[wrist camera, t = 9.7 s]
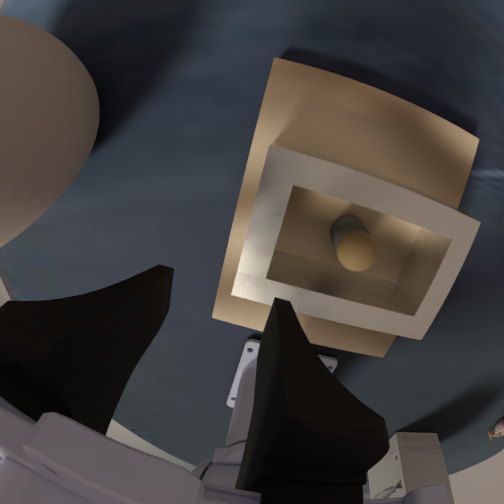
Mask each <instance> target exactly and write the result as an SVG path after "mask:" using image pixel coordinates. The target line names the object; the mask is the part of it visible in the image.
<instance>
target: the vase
mask: <svg viewBox="0 0 504 504" xmlns="http://www.w3.org/2000/svg"><path fill="white" fill-rule="evenodd" d="M99 115H100V110H99V100H98V94H97V90H96V87H95V84H94V82H93V79H92V78H91V76H90V74H89V73H88V71H87V69H86V68H85V66H84V65H83V63H82V62H81V61H80V60H79V59H78V57H77V56H76V55H75V54H74V53H73V52H72V51H71V50H70V49H69V48H68V47H67V46H66V45H65V44H64V43H63V42H61V41H60V40H59V39H57V38H56V37H55V36H53V35H52V34H50V33H48V32H47V31H45V30H44V29H42V28H40V27H38V26H36V25H33V24H31V23H29V22H26V21H23V20H20V19H16V18H13V17H9V16H3V15H0V247H1V246H3V245H4V244H6V243H7V242H9V241H10V240H11V239H13V238H14V237H16V236H17V235H19V234H20V233H21V232H23V231H24V230H25V229H26V228H27V227H29V226H30V225H31V224H32V223H33V222H34V221H36V220H37V219H38V218H39V217H40V216H41V215H42V214H43V213H44V212H45V211H46V210H47V209H48V208H49V207H50V206H51V205H52V204H53V203H54V202H55V201H56V200H57V199H58V197H59V196H60V195H61V194H62V193H63V192H64V191H65V189H66V188H67V187H68V186H69V184H70V183H71V182H72V181H73V179H74V178H75V177H76V175H77V174H78V172H79V171H80V169H81V168H82V166H83V165H84V163H85V162H86V160H87V158H88V156H89V154H90V152H91V150H92V147H93V145H94V142H95V139H96V135H97V131H98V126H99Z"/></svg>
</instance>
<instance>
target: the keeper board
mask: <svg viewBox="0 0 504 504" xmlns="http://www.w3.org/2000/svg"><path fill="white" fill-rule="evenodd" d="M274 141H275V142H279V143H283V144H286V145H290V146H294V147H297V148H301V149H304V150H308V151H311V152H314V153H318V154H321V155H324V156H327V157H331V158H334V159H337V160H340V161H343V162H346V163H349V164H352V165H355V166H358V167H361V168H363V169H366V170H369V171H372V172H375V173H377V174H380V175H383V176H385V177H388V178H391V179H393V180H396V181H398V182H401V183H404V184H406V185H409V186H411V187H413V188H416V189H418V190H421V191H423V192H425V193H428V194H430V195H432V196H435V197H437V198H439V199H441V200H444V201H446V202H448V203H450V204H452V205H453V206H455V207H457V208H458V206H459V204H460V201H461V198H462V195H463V192H464V189H465V186H466V183H467V180H468V177H469V174H470V171H471V167H472V164H473V160H474V157H475V153H476V150H477V146H478V142H479V139H478V138H476V137H475V136H473V135H471V134H470V133H468V132H466V131H465V130H463V129H461V128H459V127H458V126H456V125H454V124H452V123H450V122H449V121H447V120H445V119H443V118H441V117H439V116H437V115H435V114H433V113H431V112H429V111H427V110H425V109H423V108H421V107H419V106H417V105H415V104H412V103H410V102H408V101H406V100H404V99H401V98H399V97H397V96H394V95H392V94H390V93H387V92H385V91H382V90H380V89H377V88H375V87H372V86H369V85H367V84H364V83H361V82H358V81H356V80H353V79H350V78H347V77H344V76H341V75H338V74H335V73H331V72H328V71H325V70H322V69H318V68H315V67H311V66H307V65H304V64H300V63H296V62H292V61H288V60H284V59H279V58H275V57H274V61H273V64H272V68H271V72H270V76H269V79H268V83H267V87H266V91H265V95H264V98H263V102H262V106H261V110H260V114H259V118H258V122H257V126H256V130H255V133H254V137H253V141H252V145H251V150H250V154H249V158H248V162H247V166H246V170H245V174H244V178H243V182H242V186H241V191H240V195H239V199H238V203H237V208H236V212H235V216H234V220H233V225H232V229H231V233H230V238H229V242H228V247H227V251H226V256H225V260H224V264H223V269H222V274H221V278H220V283H219V287H218V292H217V296H216V301H215V306H214V311H213V315H212V318H215V319H219V320H222V321H226V322H229V323H233V324H237V325H240V326H244V327H248V328H251V329H255V330H259V331H263V330H264V327H265V324H266V322H267V319H268V316H269V313H270V310H271V307H272V306H271V305H267V304H263V303H260V302H256V301H252V300H249V299H245V298H241V297H238V296H234V295H231V294H232V290H233V286H234V282H235V278H236V274H237V270H238V266H239V262H240V258H241V254H242V250H243V246H244V242H245V238H246V234H247V230H248V226H249V222H250V218H251V214H252V210H253V206H254V202H255V198H256V194H257V190H258V186H259V183H260V179H261V175H262V171H263V167H264V163H265V159H266V155H267V152H268V148H269V145H270V144H271V143H272V142H274ZM419 230H420V227H419V226H417V225H414V224H411V223H409V222H406V221H403V220H400V219H398V218H395V217H392V216H389V215H386V214H384V213H381V212H378V211H375V210H372V209H369V208H366V207H363V206H360V205H357V204H354V203H351V202H348V201H345V200H342V199H338V198H335V197H332V196H329V195H325V194H322V193H319V192H316V191H312V190H309V189H305V188H302V187H298V186H295V185H293V187H292V190H291V194H290V197H289V201H288V204H287V208H286V211H285V215H284V218H283V222H282V225H281V228H280V232H279V235H278V239H277V242H276V245H275V249H274V250H278V251H281V252H285V253H289V254H292V255H296V256H299V257H303V258H307V259H310V260H314V261H317V262H321V263H325V264H328V265H332V266H335V267H339V268H343V269H346V270H350V271H353V272H357V273H360V274H364V275H368V276H371V277H375V278H378V279H382V280H385V281H389V282H392V283H396V282H397V280H398V278H399V276H400V274H401V271H402V269H403V267H404V265H405V263H406V260H407V258H408V256H409V254H410V251H411V249H412V247H413V244H414V242H415V240H416V237H417V235H418V232H419ZM295 313H296V316H297V318H298V320H299V322H300V324H301V327H302V328H303V330H304V332H305V334H306V336H307V338H308V340H309V342H310V343H313V344H317V345H322V346H326V347H331V348H336V349H341V350H346V351H351V352H356V353H361V354H366V355H371V356H377V357H382V358H383V357H384V355H385V354H386V352H387V351H388V349H389V347H390V346H391V344H392V342H393V341H394V339H395V338H396V336H397V335H394V334H389V333H384V332H379V331H375V330H370V329H366V328H361V327H357V326H352V325H348V324H344V323H339V322H335V321H331V320H327V319H323V318H318V317H314V316H310V315H306V314H302V313H298V312H295Z"/></svg>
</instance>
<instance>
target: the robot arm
mask: <svg viewBox="0 0 504 504" xmlns="http://www.w3.org/2000/svg"><path fill="white" fill-rule="evenodd" d="M173 272H174V269H173V268H170V267H167V266H163V265H157V266H155V267H153V268H150V269H148V270H146V271H144V272H142V273H140V274H137V275H135V276H133V277H131V278H128V279H126V280H124V281H121V282H119V283H116V284H113V285H111V286H108V287H106V288H103V289H100V290H96V291H93V292H89V293H86V294H82V295H77V296H72V297H66V298H61V299H53V300H43V301H7V302H6V303H5V304H4V305H2V306H1V307H0V466H1V468H0V504H450V503H449V498H448V494H447V489H446V484H444V483H442V484H435V485H429V486H422V487H419V488H416V489H414V490H412V491H410V492H409V493H407V494H406V495H405V496H404V497H396V498H384V499H367V500H366V499H365V500H363V488H362V485H364V484H366V482H367V477H366V472H367V471H368V470H370V469H371V468H372V467H373V466H375V465H376V464H377V463H378V462H379V461H380V460H382V458H383V457H384V456H385V455H386V454H387V453H388V451H389V448H390V444H389V438H388V431H387V427H386V423H385V420H384V418H383V417H381V416H380V415H379V414H377V413H376V412H374V411H373V410H372V409H370V408H369V407H367V406H366V405H365V404H363V403H362V402H361V401H360V400H359V399H357V398H356V397H355V396H354V395H353V394H352V393H351V392H349V391H348V390H347V389H346V388H345V387H344V386H343V385H342V384H341V383H340V382H339V380H338V379H337V378H336V377H335V376H334V375H333V374H332V373H333V371H334V370H335V368H336V366H337V364H338V362H337V359H336V358H333V357H328V356H324V355H319V354H317V353H316V352H315V350H314V348H313V347H312V345H311V344H310V342H309V340H308V338H307V336H306V334H305V332H304V330H303V328H302V327H301V324H300V322H299V320H298V318H297V316H296V313H295V311H294V309H293V306H292V304H291V302H290V301H288V300H284V299H280V298H277V297H275V298H274V301H273V304H272V307H271V310H270V313H269V316H268V319H267V322H266V324H265V327H264V330H263V333H262V336H261V341H259V340H255V339H248V340H247V341H246V344H245V347H244V350H243V353H242V356H241V360H240V363H239V366H238V369H237V372H236V375H235V378H234V381H233V384H232V387H231V391H230V394H229V397H228V400H227V405H228V406H230V407H233V413H232V417H231V422H230V426H229V431H228V435H227V440H226V444H225V448H216V449H215V453H214V457H213V461H211V460H206V461H203V462H201V463H200V464H199V465H198V466H197V467H196V468H195V469H194V470H193V471H192V473H191V472H190V471H188V470H187V469H185V468H184V467H181V466H179V465H176V464H174V463H171V462H169V461H167V460H165V459H162V458H159V457H156V456H153V455H151V454H148V453H145V452H143V451H140V450H138V449H135V448H132V447H130V446H128V445H125V444H123V443H120V442H118V441H116V440H113V439H111V438H109V437H107V436H105V435H106V432H107V429H108V427H109V424H110V422H111V419H112V417H113V414H114V411H115V409H116V407H117V404H118V402H119V400H120V397H121V395H122V393H123V390H124V388H125V386H126V384H127V382H128V380H129V378H130V376H131V374H132V372H133V370H134V368H135V367H136V365H137V363H138V362H139V360H140V359H141V357H142V356H143V354H144V353H145V351H146V349H147V348H148V346H149V345H150V343H151V342H152V340H153V339H154V337H155V336H156V334H157V333H158V331H159V329H160V328H161V326H162V324H163V322H164V320H165V317H166V315H167V313H168V311H169V306H170V297H171V288H172V280H173ZM248 348H252V350H250V349H248ZM329 366H331V367H329Z"/></svg>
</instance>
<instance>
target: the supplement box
mask: <svg viewBox="0 0 504 504" xmlns="http://www.w3.org/2000/svg"><path fill="white" fill-rule="evenodd" d="M389 444H390V448H389V451H388V453H387V454H386V455H385V456H384V457H383V458H382V460H380V461H379V462H378V463H377V464H376V465H375V466H373V467H372V468H371V469H370V470H368V476H369V487H370V499H384V498H396V497H404V496H405V495H406V494H407V493H409V492H410V491H412V490H414V489H416V488H419V487H422V486H429V485H435V484H442V483H444V484H446V489H447V494H448V498H449V503H450V504H454V501H453V496H452V492H451V487H450V482H449V478H448V474H447V469H446V465H445V462H444V458H443V454H442V450H441V447H440V443H439V440H438V436H437V433H416V432H396V433H395V434H394V435H393V436H392V438H390V439H389Z"/></svg>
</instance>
